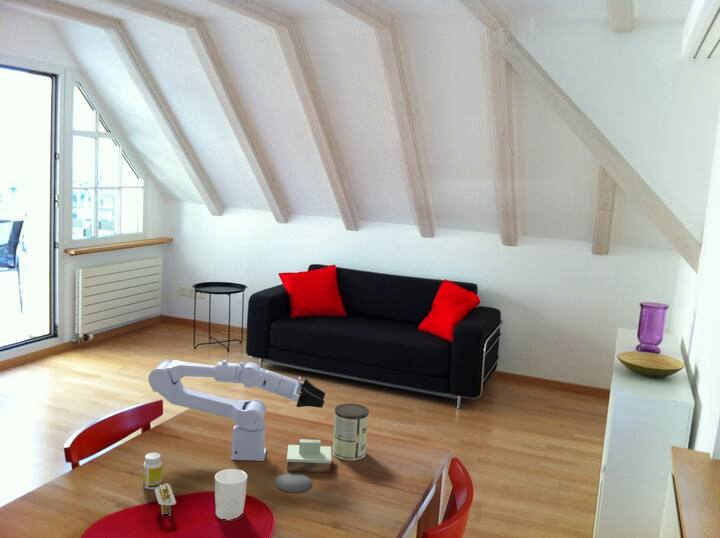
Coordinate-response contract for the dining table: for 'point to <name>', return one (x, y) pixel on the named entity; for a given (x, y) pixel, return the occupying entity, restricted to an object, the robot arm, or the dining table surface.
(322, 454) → the lid
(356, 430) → the coffee can
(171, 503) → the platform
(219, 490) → the white cup
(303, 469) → the box
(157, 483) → the supplement bottle
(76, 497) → the dining table surface
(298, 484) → the stone
